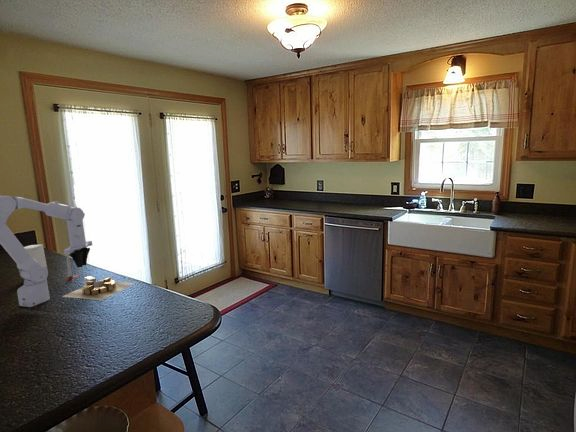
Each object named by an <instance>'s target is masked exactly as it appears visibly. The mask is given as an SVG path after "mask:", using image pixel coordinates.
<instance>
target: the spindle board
mask: <svg viewBox="0 0 576 432" xmlns="http://www.w3.org/2000/svg"><path fill="white" fill-rule="evenodd" d="M103 280H104V279H99V280H96V281H95V282H94V287H101V286H104V282H103ZM115 284H116V287H115V288H113V290H111V291H107V292H105V293H102V294H101V293H99V294H96V295H92V294H91V295H85V294H84V293H83V291H82V287H80V288H77V289H76V290H74V291H71V292H69V293H67V294H65V295H62V297H63V298H72V299H73V298H75V299H85V300H93V301H95V300H96V301H103V300H106V299H107V298H109V297H112V296H114V295H115V294H117V293H120V292H122V291H123V290H125V289H127V288H129V287H131V286H133V285H134V284H135V282H134V283H133V282H124V281H123V282H122V281H115Z"/></svg>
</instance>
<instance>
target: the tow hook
mask: <svg viewBox="0 0 576 432" xmlns="http://www.w3.org/2000/svg"><path fill="white" fill-rule="evenodd" d="M66 267H67V272H66V273H67V276H66V277H65V279H64V280H65V281H71V282H72V281H74V278H76V277H78V276H79V274H77V275H76V274H75V275H73V273H72V269H71V259H70V255H69V254H67V255H66Z"/></svg>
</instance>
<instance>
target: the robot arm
mask: <svg viewBox="0 0 576 432" xmlns="http://www.w3.org/2000/svg"><path fill="white" fill-rule="evenodd" d="M23 208H24V209H29V210H35V211H39V212H44V214H45V215H46V216H48V217H52V218H58V219H62V220H65V221H66V224H67V232H68V238H69V244H70V246H68V248H65V249H63V252H64V255H66V256H67V254H69V257H71V259H72V260H73V261H74V263H75V265H76V267H77V268H83V267H84V266H87V263H88V256H89V254H90V251H91V248H90V247H91V246H93V241H92V240H87V239H86V235H85V227H84V222H83V220H84V218H85V215H86V214H85V212H84V211H83V209H82V208H81V207H75V206H72V205H71V204H63V203H60V201H56V200H54V201H49V202H48V203H45V202H40V201H37V200H33V199H29V198H26V197H25V198H24V197H22V196H21V197H20V196H10V195H0V245H1V246H2V248H3V249H4V250H5V252H6V253H8V255H9V256H10V257H11V258H12V260H13V262H15V263H16V268H17V269H18V271H19V276H20V277H21V278H22V279H23V285H21V286H20V287H18V289H17V291H16V294H17V295H16V296H17V300H18V305H19V306H20V307H26V308H31V307H34V306H35V307H36V306H37V305H40V304H42V303H45V302H47V301H49V300H50V299H51V297H50V291H49V286H48V280H47V279H48V275H49V270H48V268H47V269H46V268H45V267H43V266H41V265H40V264H39V263H38V262H37V261H36V260H34V259H33V258H32V257H31V256H30V254H29V253H28V252H27V251H26V249H25V248H24V247H25V246H24V245H23V244H22V243H21V242H20V241H19V239H18V238H17V237H16V235H15V234H14V232H12V231H11V229H10V228H9V227H8V226H7V224H6V223H7V221H8V218H9V217H10V215H12V213H13V212H14V211H15V210H21V209H23ZM86 240H87V241H86ZM24 279H25V280H24ZM26 308H23V309H26Z"/></svg>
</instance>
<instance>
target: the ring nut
mask: <svg viewBox="0 0 576 432" xmlns="http://www.w3.org/2000/svg"><path fill="white" fill-rule="evenodd" d="M83 279H84V285H82V287H81V288H82V291H83V293H84V294H85V295H91V294H92V295H96V294H99V293H101V294H102V293H105V292H107V291H111V290H113V288H115V287H116V284H115V282H116V280H113V279H112V278H111V277H105V278H103V279H102V280H103V282H104V286H101V287H94V282H95V281H97V279H96V277H94V276H91V275H88V276H85V277H84V278H83Z"/></svg>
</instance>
